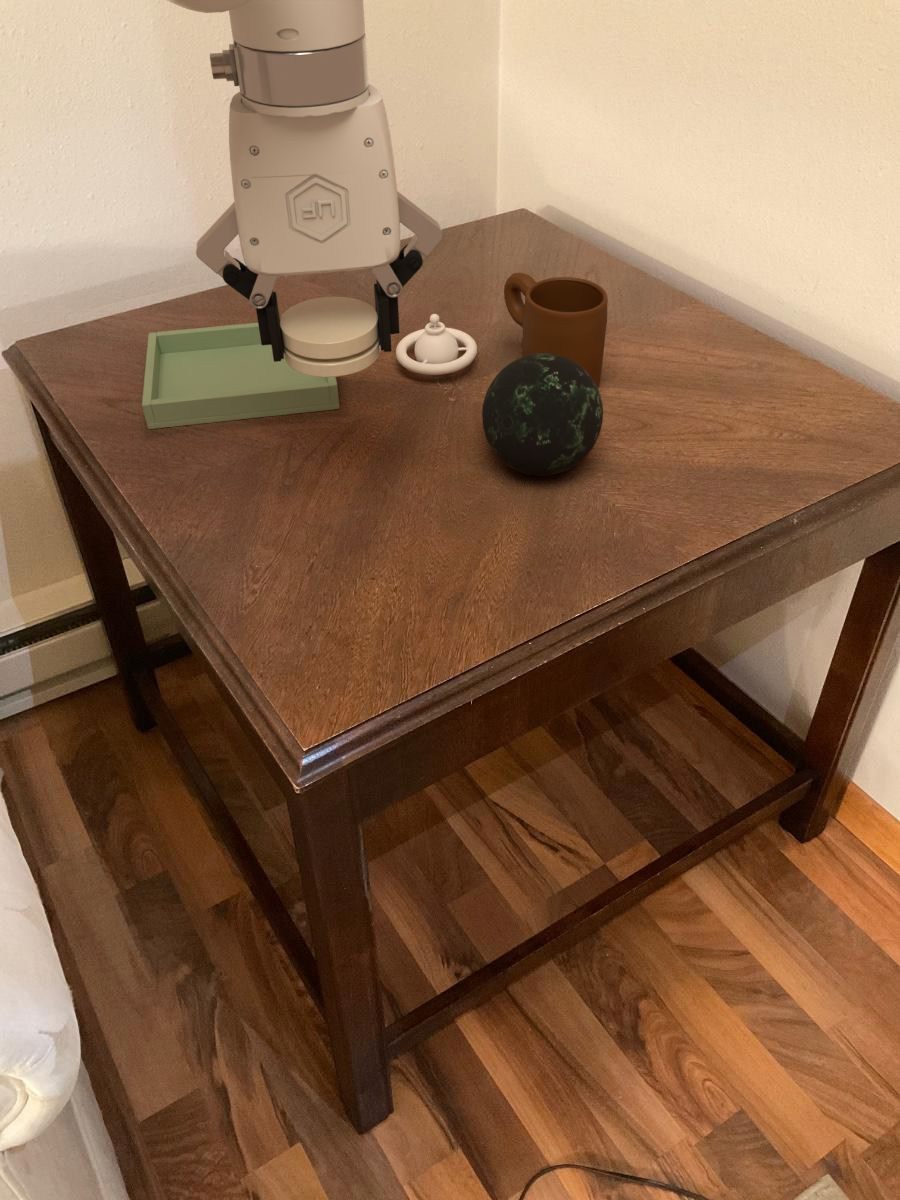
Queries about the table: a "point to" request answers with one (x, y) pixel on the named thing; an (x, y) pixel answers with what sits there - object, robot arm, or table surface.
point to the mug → (560, 318)
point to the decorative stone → (542, 414)
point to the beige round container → (330, 336)
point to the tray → (224, 379)
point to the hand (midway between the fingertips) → (331, 345)
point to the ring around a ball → (436, 349)
